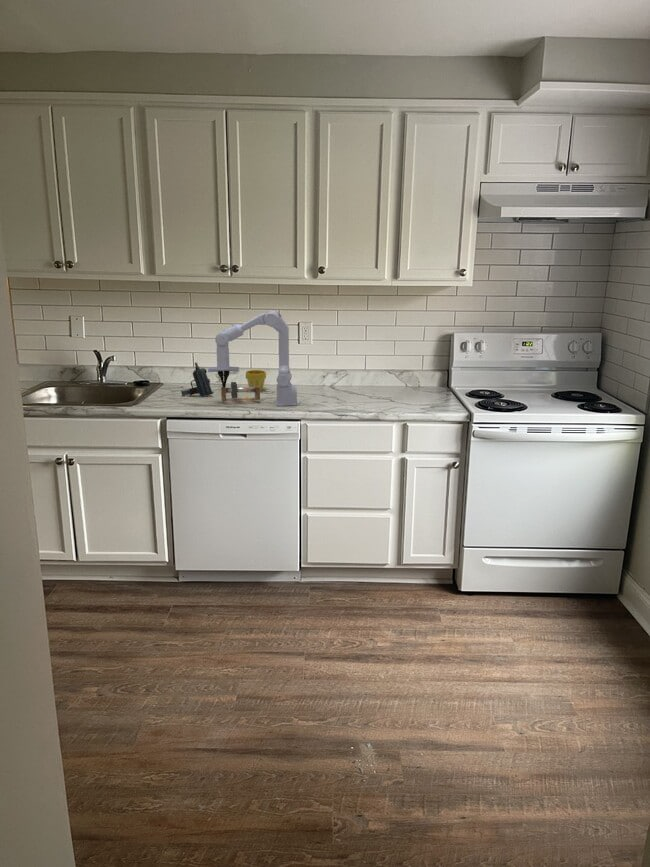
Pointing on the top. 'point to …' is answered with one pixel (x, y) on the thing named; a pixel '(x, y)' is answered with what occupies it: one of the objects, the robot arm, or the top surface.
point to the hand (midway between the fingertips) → (223, 386)
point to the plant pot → (256, 378)
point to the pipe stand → (240, 400)
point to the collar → (234, 389)
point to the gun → (199, 383)
